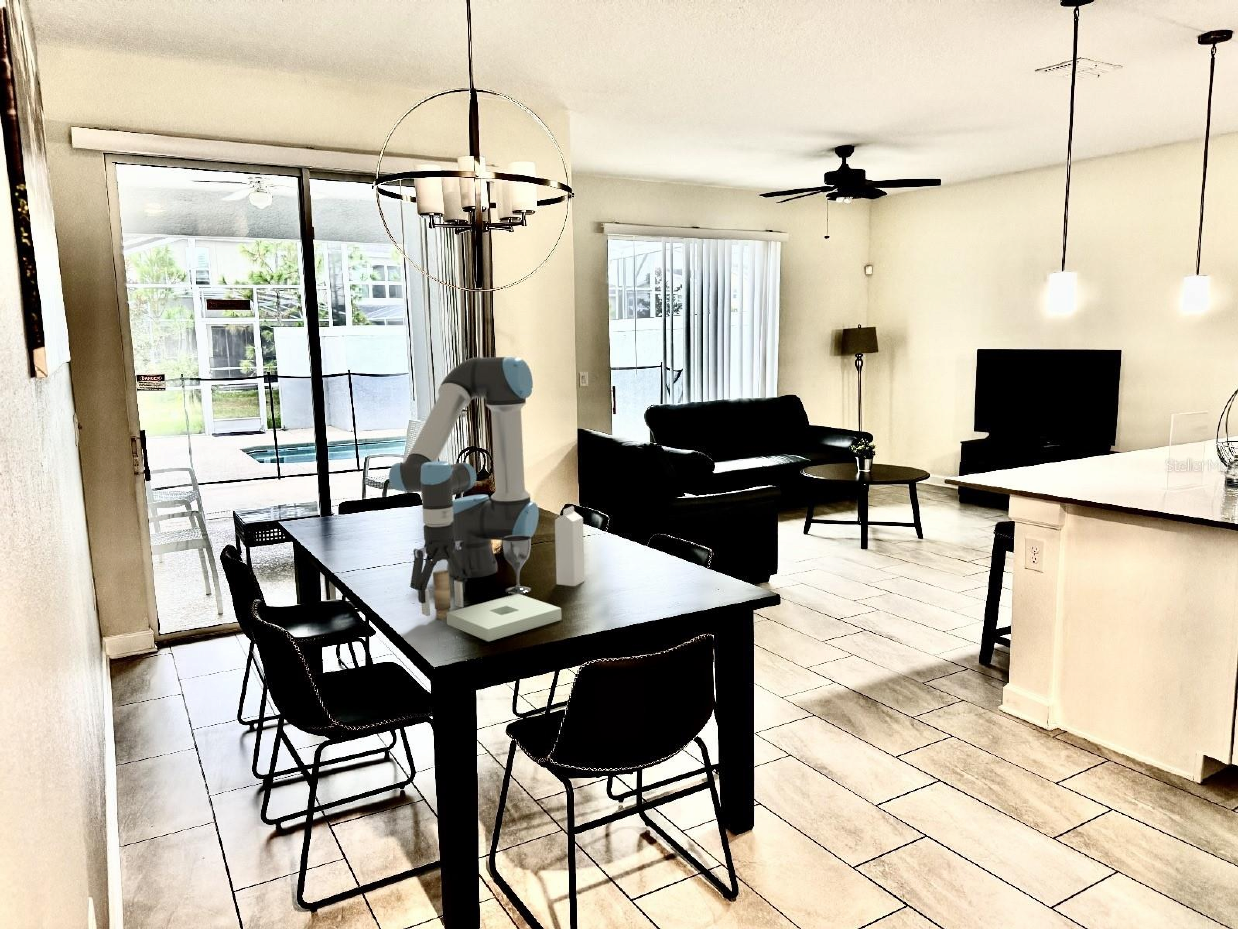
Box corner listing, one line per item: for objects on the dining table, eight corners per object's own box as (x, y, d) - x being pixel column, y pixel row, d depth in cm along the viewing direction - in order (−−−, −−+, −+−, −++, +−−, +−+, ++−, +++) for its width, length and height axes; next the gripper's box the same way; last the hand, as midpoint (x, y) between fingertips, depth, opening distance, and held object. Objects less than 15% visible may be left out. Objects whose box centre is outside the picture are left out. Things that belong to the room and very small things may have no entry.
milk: (556, 584, 251) (553, 509, 248) (566, 579, 257) (564, 505, 254) (575, 586, 249) (572, 510, 246) (585, 581, 254) (582, 506, 251)
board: (447, 624, 218) (446, 612, 218) (518, 604, 233) (518, 593, 233) (488, 641, 205) (488, 629, 205) (561, 619, 220) (561, 608, 220)
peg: (432, 618, 223) (429, 572, 222) (445, 614, 226) (443, 569, 224) (440, 621, 220) (438, 575, 219) (454, 617, 223) (452, 572, 221)
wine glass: (533, 585, 250) (531, 534, 248) (531, 594, 243) (529, 541, 240) (505, 586, 250) (503, 535, 248) (502, 594, 242) (500, 541, 240)
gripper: (407, 533, 210) (412, 623, 213) (483, 518, 224) (487, 604, 227) (391, 528, 215) (396, 616, 218) (467, 515, 230) (470, 598, 233)
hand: (442, 610), depth 223 cm, fingers open, 9 cm apart
